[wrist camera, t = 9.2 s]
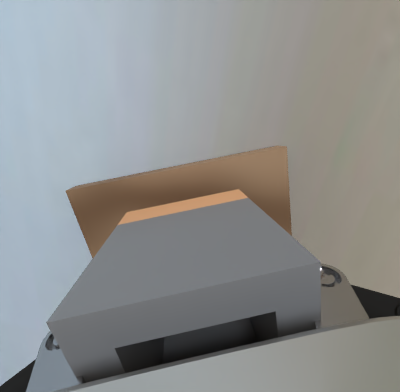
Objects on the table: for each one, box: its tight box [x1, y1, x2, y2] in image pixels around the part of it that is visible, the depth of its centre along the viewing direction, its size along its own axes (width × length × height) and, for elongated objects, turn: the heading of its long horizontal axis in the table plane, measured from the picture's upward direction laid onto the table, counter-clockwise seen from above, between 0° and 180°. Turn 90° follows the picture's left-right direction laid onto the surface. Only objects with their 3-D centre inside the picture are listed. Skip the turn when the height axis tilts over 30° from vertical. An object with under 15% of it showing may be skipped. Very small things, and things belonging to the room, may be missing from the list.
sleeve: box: [46, 189, 321, 383], centre depth 8 cm, size 6×6×6 cm
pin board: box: [66, 146, 292, 258], centre depth 13 cm, size 20×13×6 cm, turn 11°
